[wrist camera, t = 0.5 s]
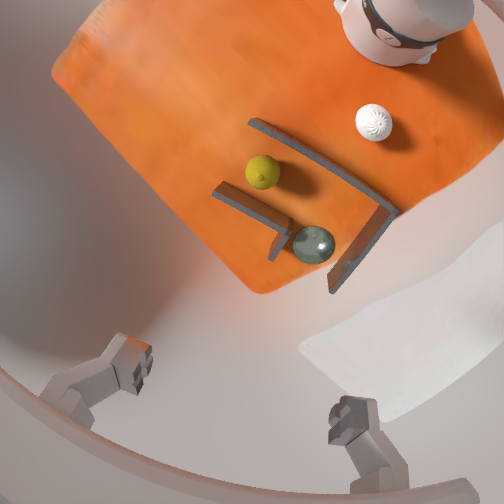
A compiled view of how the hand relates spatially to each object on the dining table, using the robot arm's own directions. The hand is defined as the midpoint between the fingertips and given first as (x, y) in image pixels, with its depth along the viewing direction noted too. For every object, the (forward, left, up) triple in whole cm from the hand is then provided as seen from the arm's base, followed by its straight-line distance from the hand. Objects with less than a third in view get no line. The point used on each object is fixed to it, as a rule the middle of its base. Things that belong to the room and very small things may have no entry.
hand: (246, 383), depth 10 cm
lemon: (+2, -4, -42) cm, 42 cm away
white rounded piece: (-14, +7, -42) cm, 45 cm away
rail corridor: (+5, +5, -42) cm, 42 cm away
